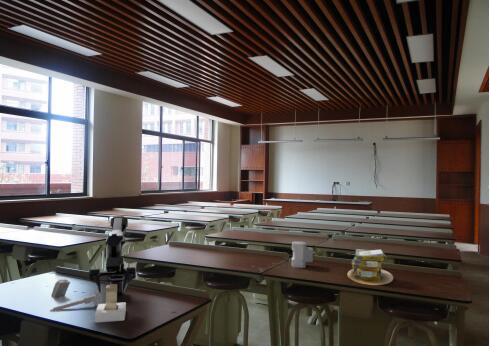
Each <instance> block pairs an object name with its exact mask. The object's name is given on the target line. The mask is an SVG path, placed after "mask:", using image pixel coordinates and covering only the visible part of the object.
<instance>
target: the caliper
mask: <svg viewBox="0 0 490 346" xmlns="http://www.w3.org/2000/svg"><path fill="white" fill-rule="evenodd" d="M97 300H98V301H99V304H103V303H102V300H103V298H102V295H101V293H100V294H99V291H97V292H95V294H93V295H90V296H87V297H84V298H82V299H80V300H75V301H72V302H69V303H65V304H61V305H57V306H55V307H52V308H51V309H49V312H52V311H53V312H55V310H57V311H61V310H64V309H67V308H71V307H73V306H78V305H81V304H84V305H88V304H90V303H92V302H93V303H94V304H95V307H98V303H97Z"/></svg>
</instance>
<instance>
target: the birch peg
mask: <svg viewBox="0 0 490 346" xmlns="http://www.w3.org/2000/svg"><path fill="white" fill-rule="evenodd" d="M117 301H118V295H117V284H112V285H110V284H107V285H106V287H105V304H106V310H117V303H118V302H117Z"/></svg>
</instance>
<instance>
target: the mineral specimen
mask: <svg viewBox="0 0 490 346" xmlns="http://www.w3.org/2000/svg"><path fill="white" fill-rule="evenodd" d="M70 284H71V281H70V280H68V279H58V280H57V281H56V282H55V284H54V286H53V289H52V292H51V297H52V299H54V300H55V299H60V298H62V297H63V298H64V297H65V296H66V294H67V292H68V288H69V286H70Z"/></svg>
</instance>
